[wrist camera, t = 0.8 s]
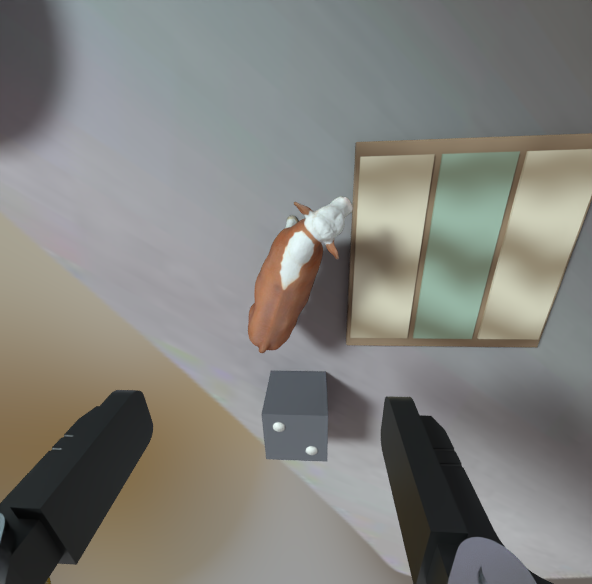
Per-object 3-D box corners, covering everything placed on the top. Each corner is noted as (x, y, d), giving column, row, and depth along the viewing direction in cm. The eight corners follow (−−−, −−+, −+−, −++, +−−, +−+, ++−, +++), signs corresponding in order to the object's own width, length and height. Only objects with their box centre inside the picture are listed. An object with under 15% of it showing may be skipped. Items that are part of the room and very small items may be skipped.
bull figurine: (352, 197, 24) (370, 211, 16) (285, 322, 29) (275, 377, 21) (305, 172, 23) (300, 176, 16) (245, 305, 28) (221, 354, 21)
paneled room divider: (355, 143, 22) (357, 141, 21) (605, 133, 21) (619, 132, 20) (345, 340, 29) (347, 346, 28) (531, 342, 28) (538, 348, 27)
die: (270, 370, 31) (261, 414, 26) (326, 371, 31) (329, 416, 25) (274, 412, 34) (266, 460, 28) (325, 413, 33) (328, 463, 28)
